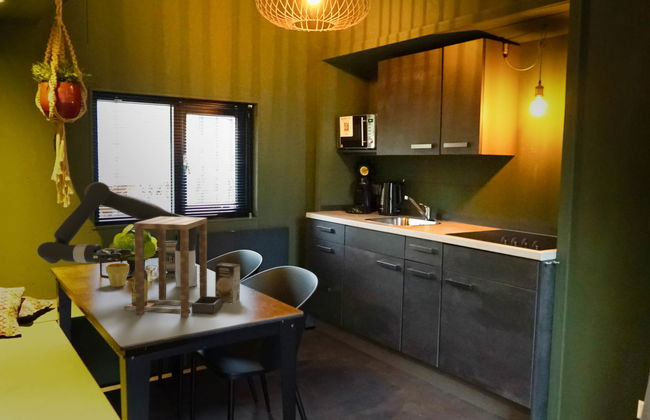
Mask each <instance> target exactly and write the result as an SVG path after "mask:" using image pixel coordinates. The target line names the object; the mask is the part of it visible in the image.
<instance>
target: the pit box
mask: <svg viewBox="0 0 650 420" xmlns="http://www.w3.org/2000/svg"><path fill="white" fill-rule="evenodd" d="M223 305H224V304H223V297H215V295H214V296H210V295H207V296H201V297H200V296H199V297H198V298H197V299H195V300H194V302H193V303H192V306H191V314H196V315H197V314H200V315H215V314H216V313H217V312H218V311H219V310H220V309H222V308H223Z"/></svg>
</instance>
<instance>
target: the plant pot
mask: <svg viewBox="0 0 650 420" xmlns="http://www.w3.org/2000/svg"><path fill="white" fill-rule="evenodd" d="M129 272H130V264H129V263H126V262H125V263H124V262H115V263H110V264H106V265H105V273H106V274H107V277H108V280H109V285H110V287H113V288H115V287H117V288H119V287H124V286H125V285H126V282H127V278H128V273H129Z"/></svg>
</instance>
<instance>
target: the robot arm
mask: <svg viewBox="0 0 650 420" xmlns="http://www.w3.org/2000/svg"><path fill="white" fill-rule="evenodd" d="M83 194H84V198H83V200H82V201H80V204H78V206H77V207H76V208H75V210H73V211H72V213H71V214H69V215H68V217H66V219H64V221H63V222H62V223H61V225H60V226H59V227H58V228H57V229H56V230H55V232H54V235H53V236H54V239H55V241H54V242H53V241H46V242H43V243H40V244H39V245H38V247H37V250H36V251H37V255H38V256H39V257H40V258H41V259H43V260H44V261H46V262H47V263H48V264H51V265H52V264H53V265H54V264H57V263H58V262H60V261H61V260H63V261H64V262H68V263H71V262H72V263H74V262H76V263H83V264H85V263H86V264H88V263H89V264H92V263H93V264H95V263H96V264H98V263H100V262H101V261H108V260H109V261H110V260H120V259H122V256H130V255H132V251H131V249H124V248H123V247H107V248H106V247H105V248H103V247H102V246H101V245H100V244H96V243H95V244H85V243H84V244H82V243H81V244H70V243H71V241H72V240H73V239H74V238H75V236H76V235H77V234H78V232H79V231H80V230H81V228H82V227H83V226H84V224H85V223H86V222H87V220H88V219H89V218H90V217H91V215H92V214H93V213H94V212H95V211H96V210H97V209H98V208H99V207H100V206H103V207H107V208H109V209H113V210H116V211H117V212H119V213H122V214H124V215H126V216H129V217H131V218H134V219H136V220H139V221H140V222H141V221H145V220H149V219H153V218H156V217H160V216H161V217H188V216H186V215H181V214H177V213H173V212H171V211H168V210H165V209H164V208H162V207H160V206H159V205H157V204H155V203H153V202H150V201H148V200H146V199H142V198H139V197H137V196H136V197H135V196H133V195H132V196H131V195H127V194H126V195H125V194H121V193H118V192H115V191H113V190H111V189H110V187H109V185H107V184H106V183H105V182H101V181H95V182H92V183H90V184H88V185H87V186H86V187H85V188H84V193H83ZM171 231H173V232H174V233H176V234H177V240H176V241H177V244H176V245H175V275H176V278H175V281H174V282H175V287H177V288H181V282H180V230H171ZM197 235H198V226H196V227H193V228H190V229H189V288H191V287H194V286H197V285H198V266H197V265H196V245H197V241H198V240H197V238H198V236H197Z"/></svg>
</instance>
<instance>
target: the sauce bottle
mask: <svg viewBox="0 0 650 420" xmlns="http://www.w3.org/2000/svg"><path fill="white" fill-rule="evenodd" d="M148 277H149V276H148V272H147V271H146V257H144V306H146V305H147V299H148V297H149V296H148V293H149V292H148V290H149V289H148V288H149V285H148V281H149V279H148ZM131 304H132V305H133V306H136V291H135V269H134V270H133V272H132V275H131Z"/></svg>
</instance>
